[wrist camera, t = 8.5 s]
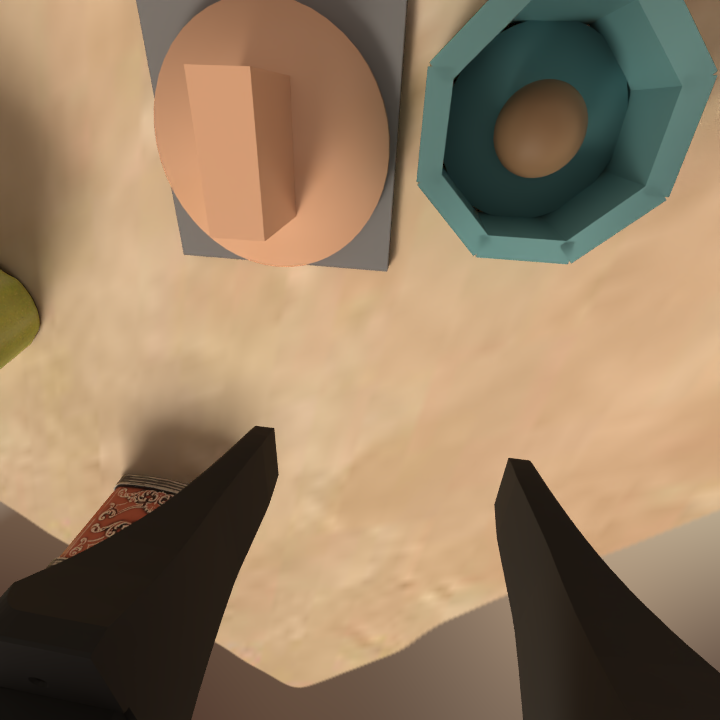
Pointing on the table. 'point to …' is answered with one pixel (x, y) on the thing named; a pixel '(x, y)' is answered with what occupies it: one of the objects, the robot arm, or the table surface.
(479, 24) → the bowl
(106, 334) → the table surface
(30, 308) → the plant pot
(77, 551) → the lighter
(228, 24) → the lid
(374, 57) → the mat
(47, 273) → the table surface
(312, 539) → the table surface
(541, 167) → the ball
